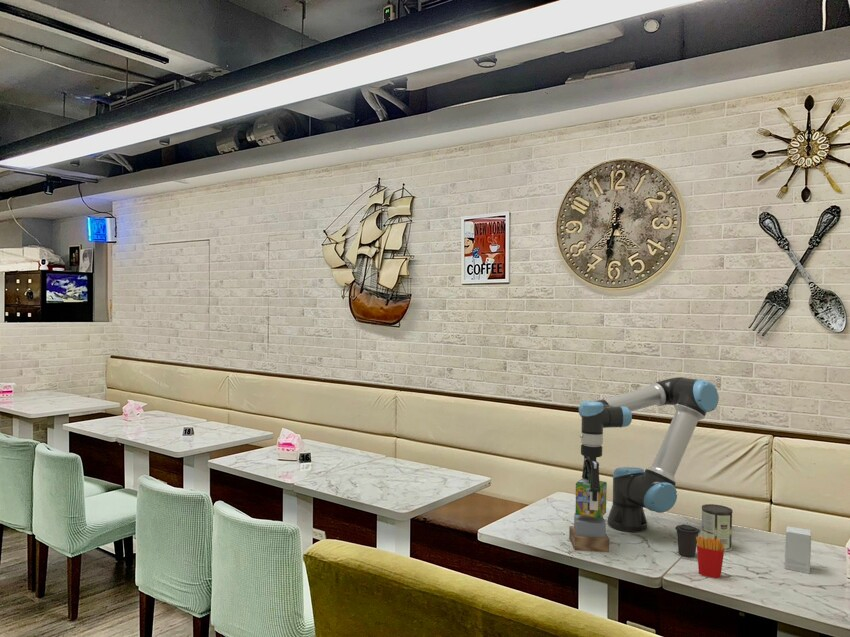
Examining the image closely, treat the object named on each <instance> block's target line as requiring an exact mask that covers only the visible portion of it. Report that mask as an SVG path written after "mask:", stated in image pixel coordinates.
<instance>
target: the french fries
mask: <svg viewBox="0 0 850 637" xmlns="http://www.w3.org/2000/svg"><path fill="white" fill-rule="evenodd" d="M696 540H697V547H696V555H697V568H698V574H699V575H700V576H704V577H706V578H713V579H720V578H721V576H722V571H723V570H722V569H723V562H724V554H725V552H724V549H723V547H724V542H722V543H720V540H719V539H716V541H715V539H712V538H709V537H707V539H704V538H703V537H702V536H701V535H700V536H698V537H696Z"/></svg>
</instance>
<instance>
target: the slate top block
mask: <svg viewBox="0 0 850 637" xmlns="http://www.w3.org/2000/svg"><path fill="white" fill-rule="evenodd" d="M573 518H574V519H573V520H574V521H573V526H574V528H575V532H576V535H577V536H584V537H597V538H606V534H607V523H606V521H605V519H604V515H603V516H602V517H601V518H600V519H599V518H594V517H588V516H582V515H576V514H575V513H574V517H573Z"/></svg>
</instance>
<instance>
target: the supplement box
mask: <svg viewBox="0 0 850 637" xmlns="http://www.w3.org/2000/svg"><path fill="white" fill-rule="evenodd" d="M784 542H785V545H784V569H785V570H789V571H790V570H791V571H794V572H799V573H805V574H810V572H811V552H812V530H811V529H806V528H801V527H793V526H789V525H787V526H786V529H785V540H784Z"/></svg>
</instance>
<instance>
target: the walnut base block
mask: <svg viewBox="0 0 850 637" xmlns="http://www.w3.org/2000/svg"><path fill="white" fill-rule="evenodd" d="M568 539H569V541H570V543H571V546H572V547H573V550H574V551H582V552H583V551H584V552H599V553H610V537H609V535H607V533H606V538H597V537H584V536H577V535H576V532H575V528H574V525H569V535H568Z"/></svg>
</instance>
